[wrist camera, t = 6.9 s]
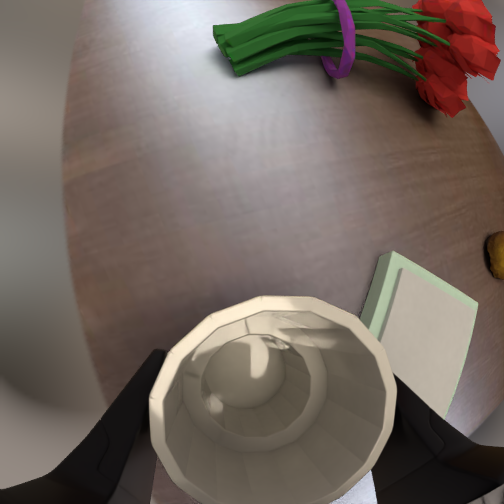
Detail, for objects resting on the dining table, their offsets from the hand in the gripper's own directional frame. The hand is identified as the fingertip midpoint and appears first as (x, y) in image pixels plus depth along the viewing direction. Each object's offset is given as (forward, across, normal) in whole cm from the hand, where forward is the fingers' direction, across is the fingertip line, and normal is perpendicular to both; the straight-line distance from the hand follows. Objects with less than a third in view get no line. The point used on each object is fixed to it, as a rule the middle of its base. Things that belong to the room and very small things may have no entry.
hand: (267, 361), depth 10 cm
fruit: (+13, -32, +3) cm, 35 cm away
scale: (+7, -14, +9) cm, 18 cm away
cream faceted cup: (+4, 0, +6) cm, 7 cm away
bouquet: (+28, -11, -12) cm, 33 cm away
